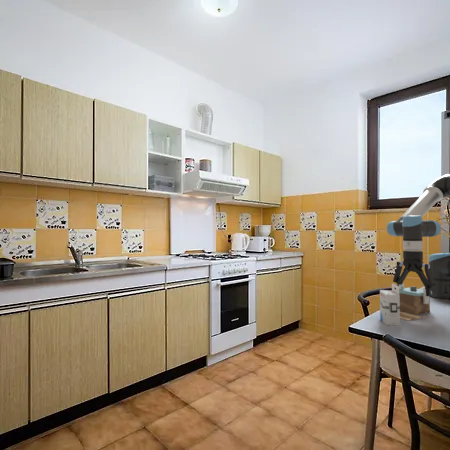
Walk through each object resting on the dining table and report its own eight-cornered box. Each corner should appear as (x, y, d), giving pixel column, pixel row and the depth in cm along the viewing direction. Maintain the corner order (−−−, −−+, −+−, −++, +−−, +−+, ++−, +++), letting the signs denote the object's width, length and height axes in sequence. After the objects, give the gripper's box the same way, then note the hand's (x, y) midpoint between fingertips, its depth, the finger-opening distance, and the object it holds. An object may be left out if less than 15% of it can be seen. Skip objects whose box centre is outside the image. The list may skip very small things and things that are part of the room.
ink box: (379, 318, 125) (379, 282, 126) (392, 319, 124) (392, 282, 125) (386, 325, 117) (385, 286, 117) (400, 326, 116) (399, 286, 116)
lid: (409, 292, 143) (409, 284, 143) (432, 296, 134) (431, 287, 134) (395, 294, 138) (395, 286, 139) (418, 299, 130) (418, 289, 130)
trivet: (400, 312, 134) (400, 311, 134) (421, 317, 126) (421, 316, 126) (387, 315, 130) (387, 314, 130) (408, 320, 122) (408, 319, 122)
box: (411, 307, 142) (411, 290, 142) (429, 311, 135) (429, 293, 135) (398, 310, 137) (397, 292, 138) (416, 315, 130) (415, 296, 130)
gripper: (383, 249, 145) (384, 297, 145) (435, 252, 125) (436, 307, 125) (393, 248, 148) (394, 295, 148) (445, 251, 128) (446, 305, 128)
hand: (413, 301), depth 136 cm, fingers closed on lid, 10 cm apart
